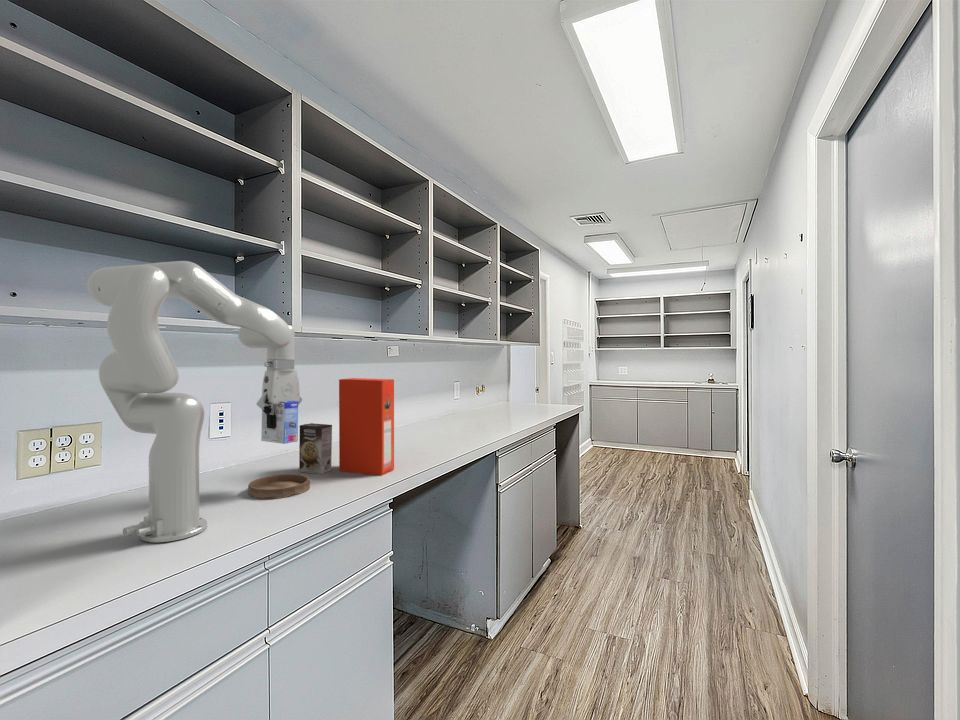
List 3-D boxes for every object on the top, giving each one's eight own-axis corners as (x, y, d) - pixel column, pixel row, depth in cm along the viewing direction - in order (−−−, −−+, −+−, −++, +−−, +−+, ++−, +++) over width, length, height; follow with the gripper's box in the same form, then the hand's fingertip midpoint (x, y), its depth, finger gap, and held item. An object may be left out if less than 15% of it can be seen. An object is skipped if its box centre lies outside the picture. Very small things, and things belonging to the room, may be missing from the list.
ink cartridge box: (299, 441, 135) (299, 392, 135) (284, 444, 130) (283, 394, 130) (276, 438, 139) (276, 391, 139) (260, 441, 134) (260, 392, 134)
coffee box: (298, 472, 156) (298, 425, 155) (310, 467, 162) (310, 422, 162) (320, 474, 153) (321, 426, 153) (332, 469, 159) (332, 424, 159)
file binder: (381, 475, 152) (381, 380, 151) (338, 470, 158) (339, 379, 157) (394, 470, 159) (394, 379, 159) (352, 465, 165) (353, 378, 165)
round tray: (275, 502, 124) (275, 492, 124) (236, 493, 131) (236, 484, 131) (321, 486, 139) (321, 478, 139) (284, 479, 146) (284, 471, 146)
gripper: (263, 366, 125) (263, 431, 125) (312, 365, 140) (312, 424, 140) (246, 366, 129) (245, 429, 129) (295, 365, 144) (295, 422, 144)
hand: (280, 426), depth 135 cm, fingers closed on ink cartridge box, 5 cm apart
